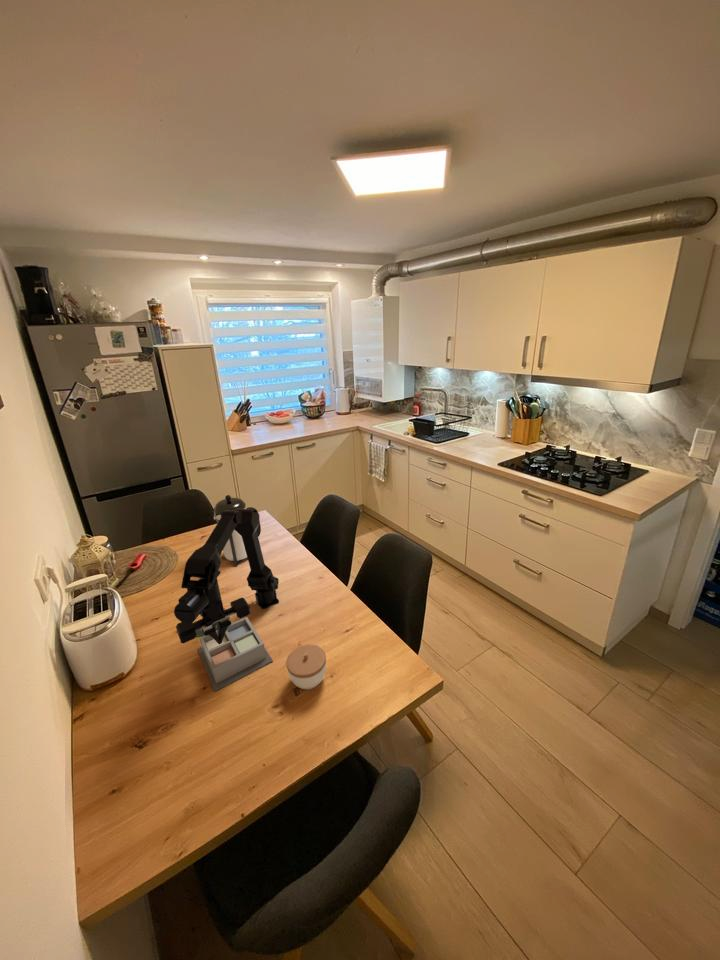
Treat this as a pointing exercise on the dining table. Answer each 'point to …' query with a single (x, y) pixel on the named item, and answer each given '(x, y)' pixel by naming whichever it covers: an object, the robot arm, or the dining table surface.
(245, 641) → the key sage
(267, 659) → the keypad base
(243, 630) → the key slate
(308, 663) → the lidded jar
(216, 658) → the key terracotta
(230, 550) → the coffee press
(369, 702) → the dining table surface
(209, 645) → the key cream
